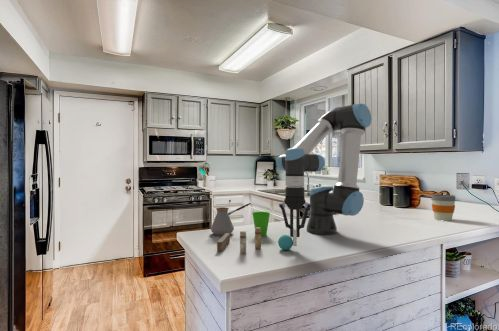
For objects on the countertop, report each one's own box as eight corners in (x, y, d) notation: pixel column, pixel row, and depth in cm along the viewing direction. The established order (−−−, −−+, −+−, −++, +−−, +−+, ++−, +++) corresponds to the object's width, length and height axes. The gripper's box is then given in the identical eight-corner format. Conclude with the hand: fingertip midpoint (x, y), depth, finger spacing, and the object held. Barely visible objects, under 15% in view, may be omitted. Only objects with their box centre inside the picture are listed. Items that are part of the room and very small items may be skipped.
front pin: (261, 247, 118) (261, 227, 118) (260, 249, 115) (260, 228, 115) (255, 247, 118) (255, 227, 118) (254, 249, 116) (254, 228, 115)
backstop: (229, 242, 126) (229, 233, 125) (222, 252, 112) (222, 242, 112) (225, 242, 126) (225, 233, 126) (217, 251, 112) (217, 241, 112)
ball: (295, 242, 117) (288, 230, 117) (295, 247, 111) (287, 234, 111) (283, 249, 118) (275, 237, 118) (283, 255, 112) (274, 242, 112)
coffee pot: (213, 238, 133) (213, 206, 133) (208, 232, 144) (208, 203, 144) (255, 234, 140) (255, 204, 139) (248, 229, 150) (248, 201, 150)
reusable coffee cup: (434, 220, 171) (434, 196, 171) (428, 217, 183) (428, 194, 183) (458, 222, 168) (459, 197, 167) (451, 218, 179) (451, 194, 179)
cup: (248, 236, 136) (248, 213, 135) (257, 232, 144) (256, 210, 143) (265, 238, 131) (265, 215, 131) (273, 234, 139) (273, 212, 139)
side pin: (246, 252, 111) (246, 230, 111) (245, 254, 109) (245, 232, 109) (240, 252, 112) (240, 230, 112) (239, 254, 109) (239, 232, 109)
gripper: (278, 187, 111) (278, 247, 111) (312, 187, 109) (312, 248, 109) (278, 185, 118) (278, 242, 118) (310, 186, 117) (310, 243, 117)
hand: (294, 244), depth 114 cm, fingers closed
